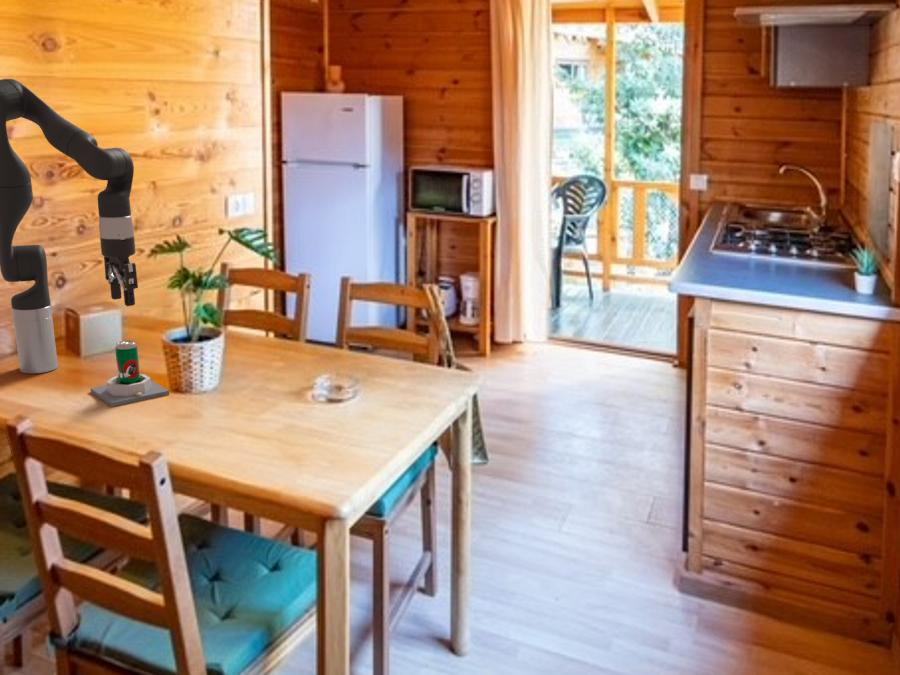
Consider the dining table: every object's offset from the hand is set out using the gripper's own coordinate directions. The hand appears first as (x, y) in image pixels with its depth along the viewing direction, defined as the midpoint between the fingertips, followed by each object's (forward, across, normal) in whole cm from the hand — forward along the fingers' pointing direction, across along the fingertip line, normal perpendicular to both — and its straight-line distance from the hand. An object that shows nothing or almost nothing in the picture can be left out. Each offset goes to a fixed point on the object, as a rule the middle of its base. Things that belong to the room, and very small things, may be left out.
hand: (123, 302), depth 205 cm
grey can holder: (+23, +1, -1) cm, 23 cm away
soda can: (+22, +1, -1) cm, 22 cm away
